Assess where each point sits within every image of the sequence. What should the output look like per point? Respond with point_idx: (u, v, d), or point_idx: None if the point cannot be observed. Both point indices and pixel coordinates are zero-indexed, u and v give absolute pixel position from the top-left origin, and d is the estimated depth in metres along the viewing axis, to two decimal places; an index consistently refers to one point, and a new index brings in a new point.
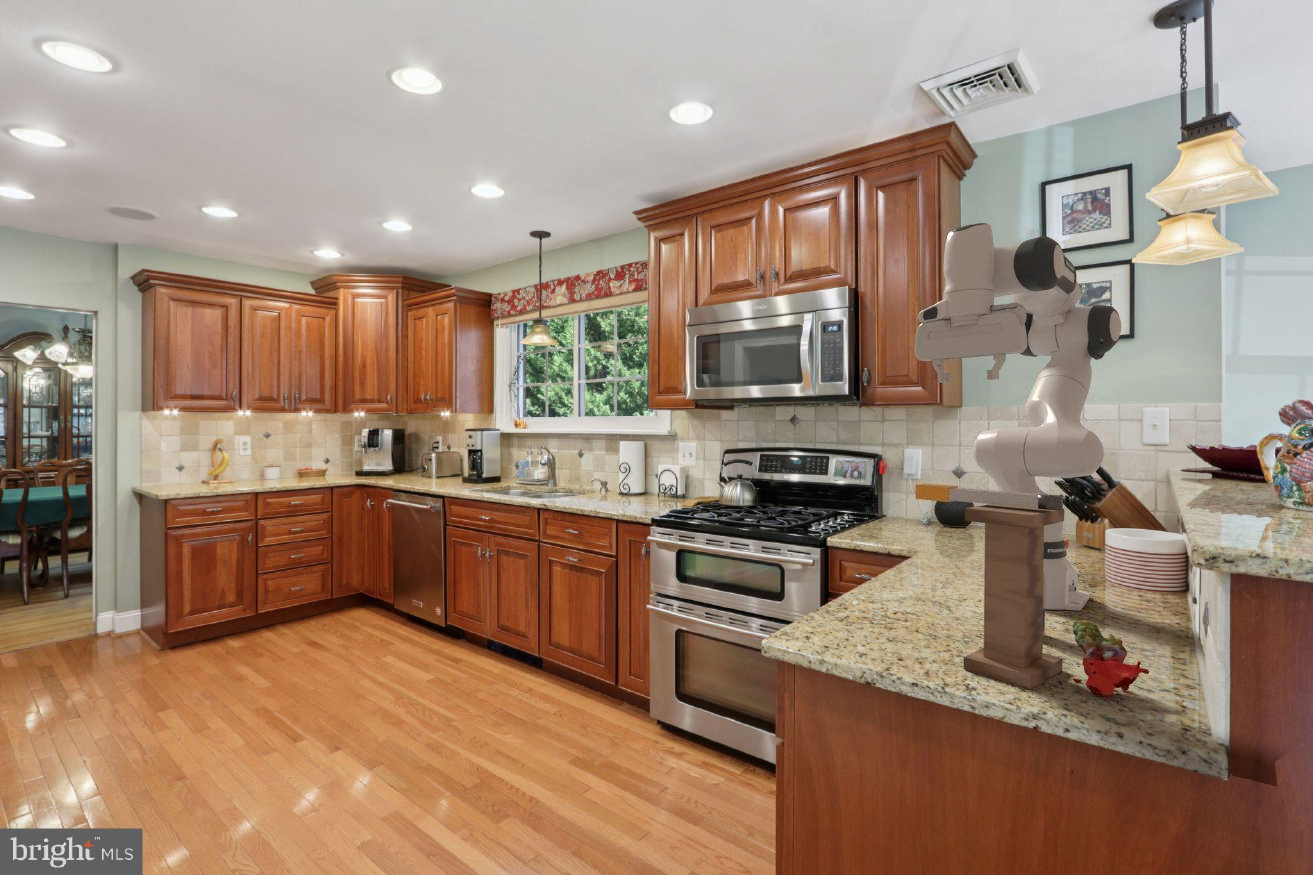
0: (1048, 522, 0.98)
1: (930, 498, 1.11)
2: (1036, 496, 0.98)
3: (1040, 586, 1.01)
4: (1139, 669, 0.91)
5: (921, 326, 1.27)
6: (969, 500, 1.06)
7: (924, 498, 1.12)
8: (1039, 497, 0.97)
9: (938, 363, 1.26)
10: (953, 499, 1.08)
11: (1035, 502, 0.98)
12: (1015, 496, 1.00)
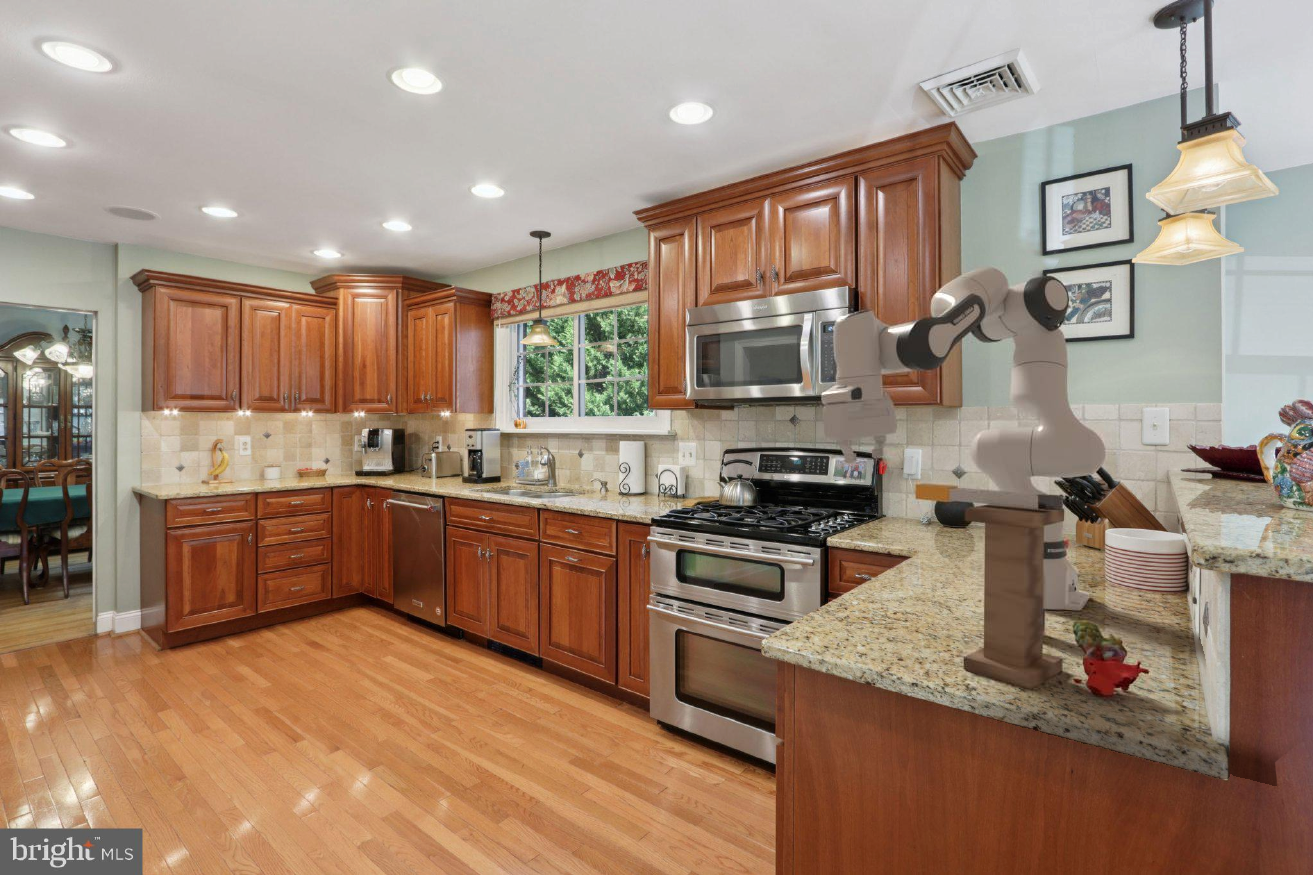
0: (1048, 522, 0.98)
1: (930, 498, 1.11)
2: (1036, 496, 0.98)
3: (1040, 586, 1.01)
4: (1139, 669, 0.91)
5: (847, 405, 1.21)
6: (969, 500, 1.06)
7: (924, 498, 1.12)
8: (1039, 497, 0.97)
9: (851, 444, 1.24)
10: (953, 499, 1.08)
11: (1035, 502, 0.98)
12: (1015, 496, 1.00)
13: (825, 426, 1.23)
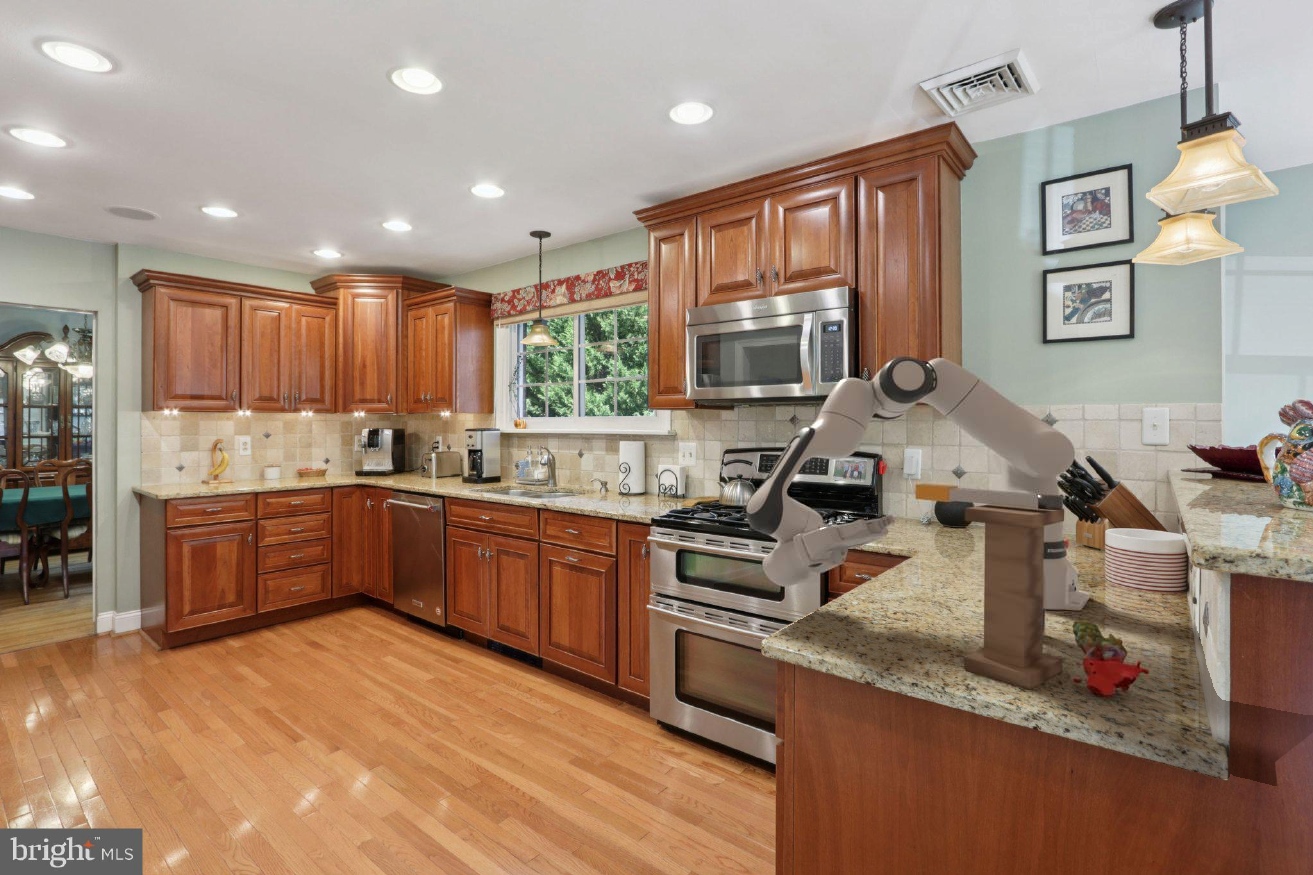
0: (1048, 522, 0.98)
1: (930, 498, 1.11)
2: (1036, 496, 0.98)
3: (1040, 586, 1.01)
4: (1139, 669, 0.91)
5: None
6: (969, 500, 1.06)
7: (924, 498, 1.12)
8: (1039, 497, 0.97)
9: None
10: (953, 499, 1.08)
11: (1035, 502, 0.98)
12: (1015, 496, 1.00)
13: (819, 548, 1.19)
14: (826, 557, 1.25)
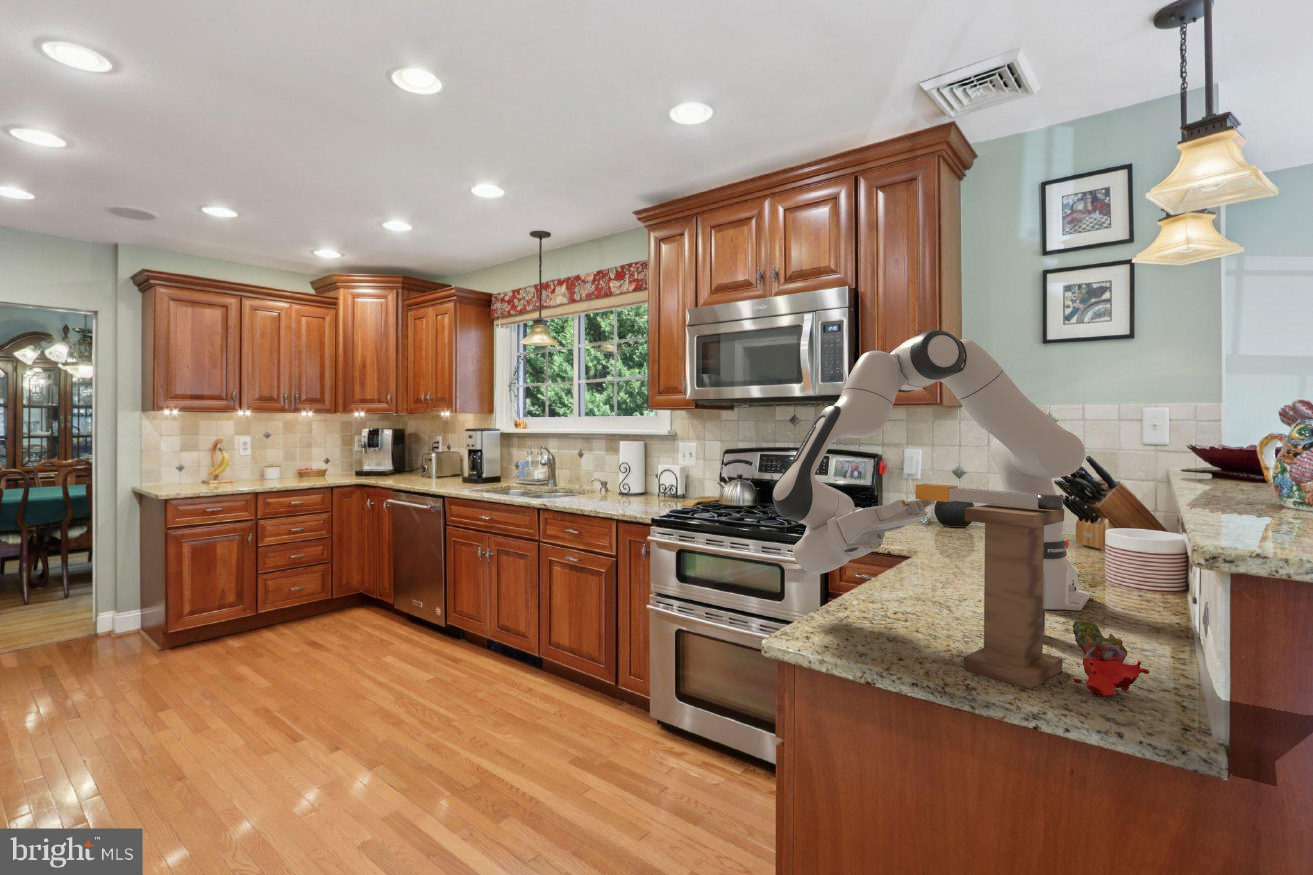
0: (1048, 522, 0.98)
1: (930, 498, 1.11)
2: (1036, 496, 0.98)
3: (1040, 586, 1.01)
4: (1139, 669, 0.91)
5: None
6: (969, 500, 1.06)
7: (924, 498, 1.12)
8: (1039, 497, 0.97)
9: None
10: (953, 499, 1.08)
11: (1035, 502, 0.98)
12: (1015, 496, 1.00)
13: (857, 531, 1.13)
14: (863, 541, 1.18)
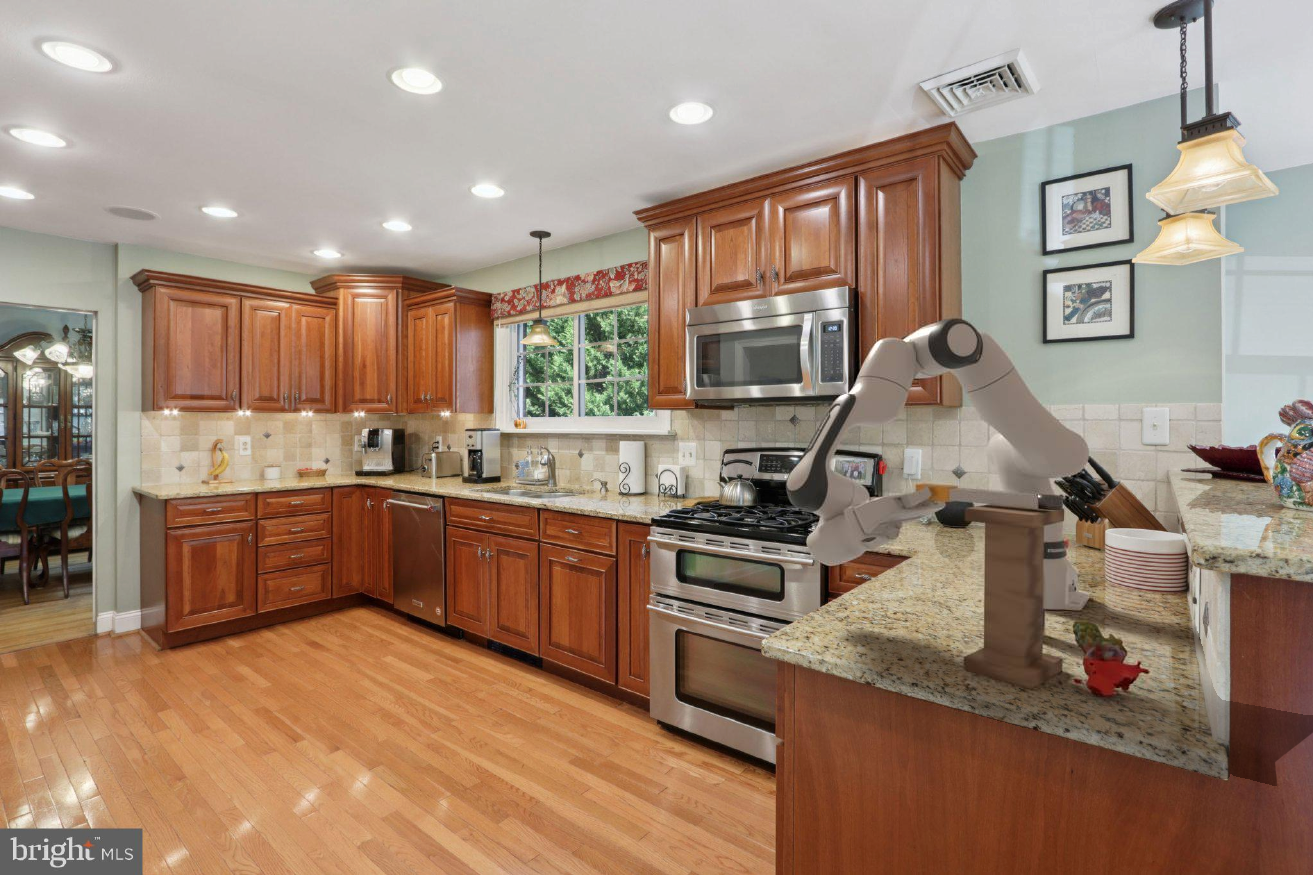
0: (1048, 522, 0.98)
1: (930, 498, 1.11)
2: (1036, 496, 0.98)
3: (1040, 586, 1.01)
4: (1139, 669, 0.91)
5: None
6: (969, 500, 1.06)
7: None
8: (1039, 497, 0.97)
9: None
10: (953, 499, 1.08)
11: (1035, 502, 0.98)
12: (1015, 496, 1.00)
13: (875, 520, 1.10)
14: (880, 531, 1.15)
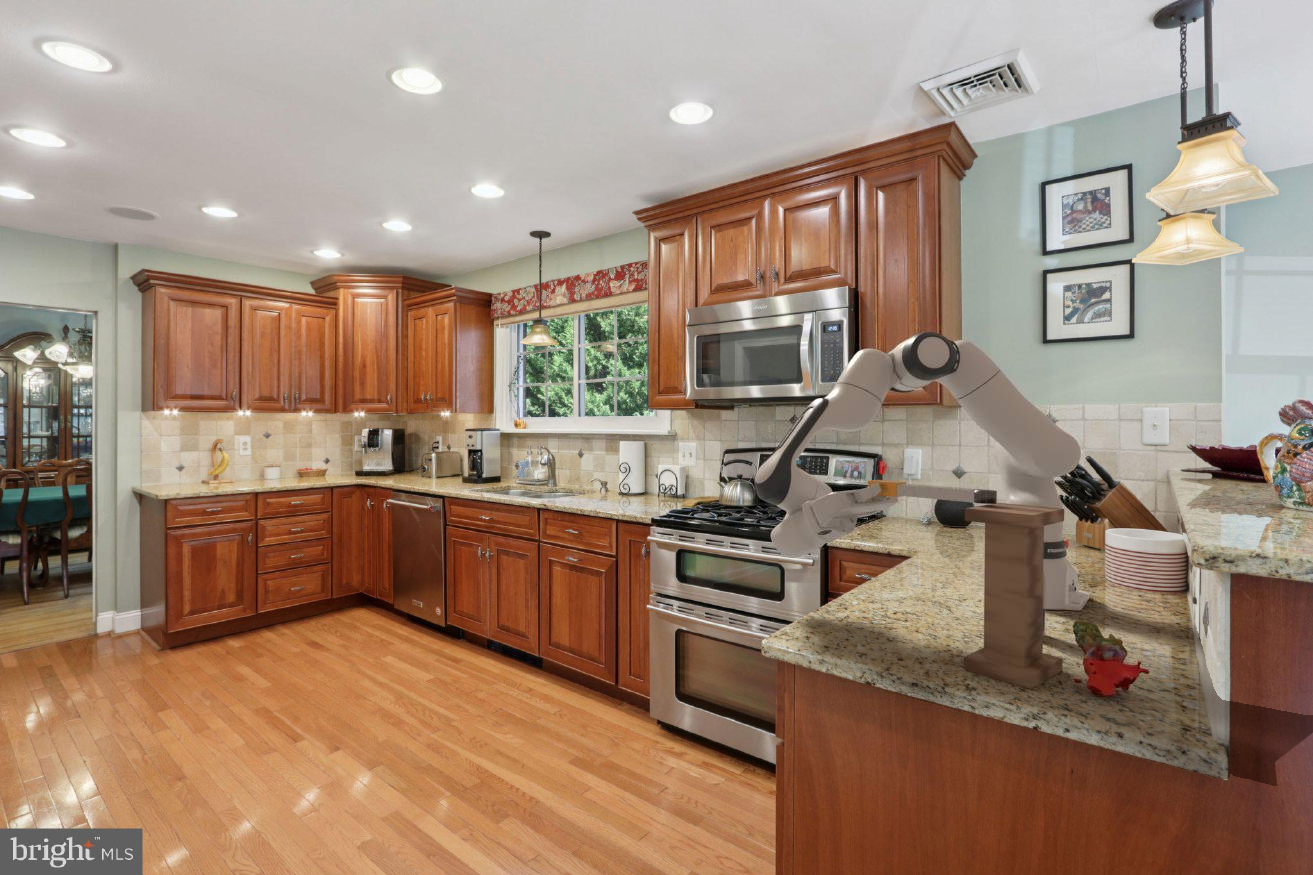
0: (1048, 522, 0.98)
1: (880, 493, 1.19)
2: (972, 491, 1.05)
3: (1040, 586, 1.01)
4: (1139, 669, 0.91)
5: None
6: (914, 495, 1.13)
7: None
8: (975, 492, 1.05)
9: None
10: (900, 494, 1.15)
11: (972, 496, 1.05)
12: (954, 491, 1.08)
13: (829, 514, 1.18)
14: (835, 524, 1.23)
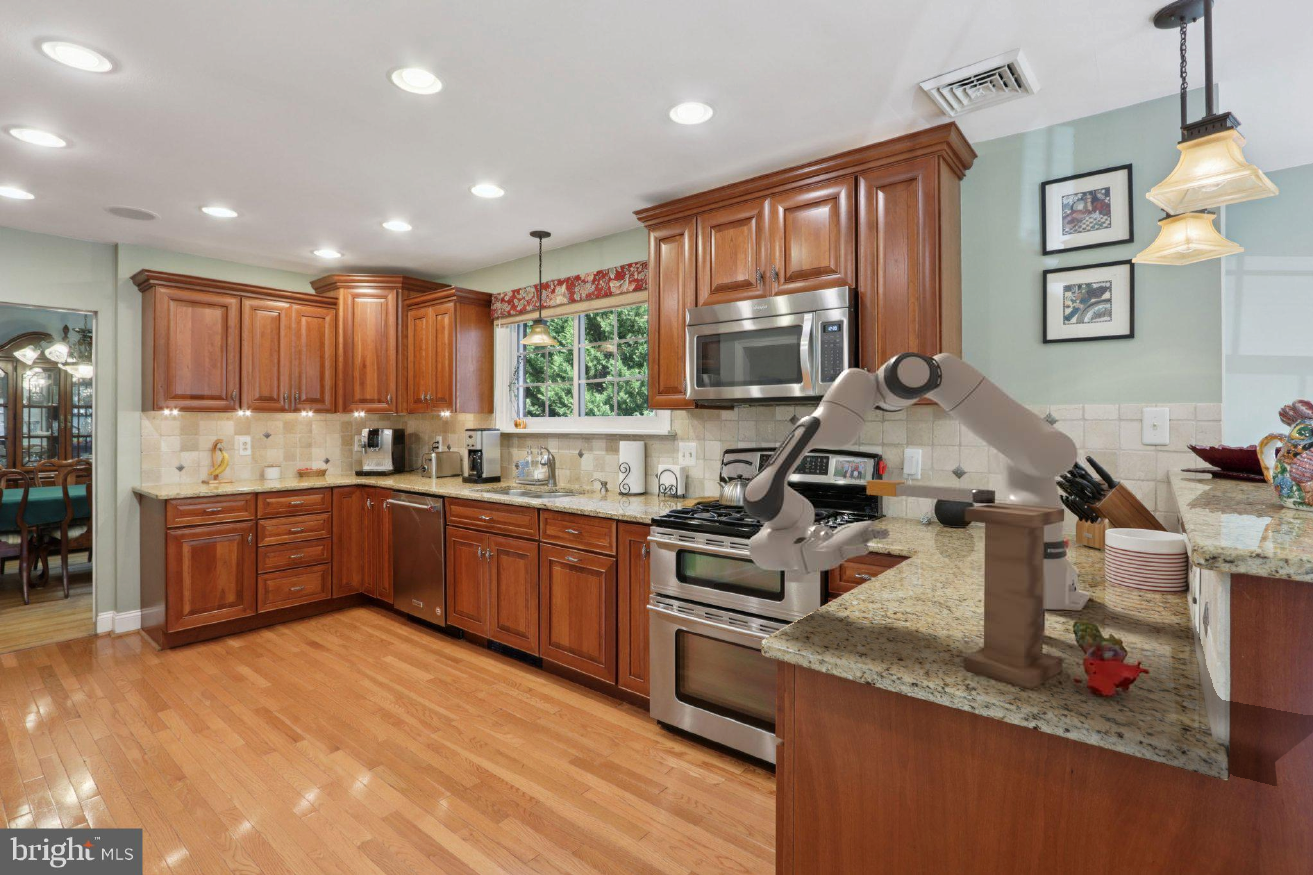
0: (1048, 522, 0.98)
1: (879, 493, 1.19)
2: (971, 491, 1.05)
3: (1040, 586, 1.01)
4: (1139, 669, 0.91)
5: (803, 546, 1.26)
6: (913, 495, 1.14)
7: (874, 493, 1.20)
8: (973, 492, 1.05)
9: None
10: (899, 494, 1.16)
11: (970, 496, 1.06)
12: (953, 491, 1.08)
13: (821, 568, 1.22)
14: None
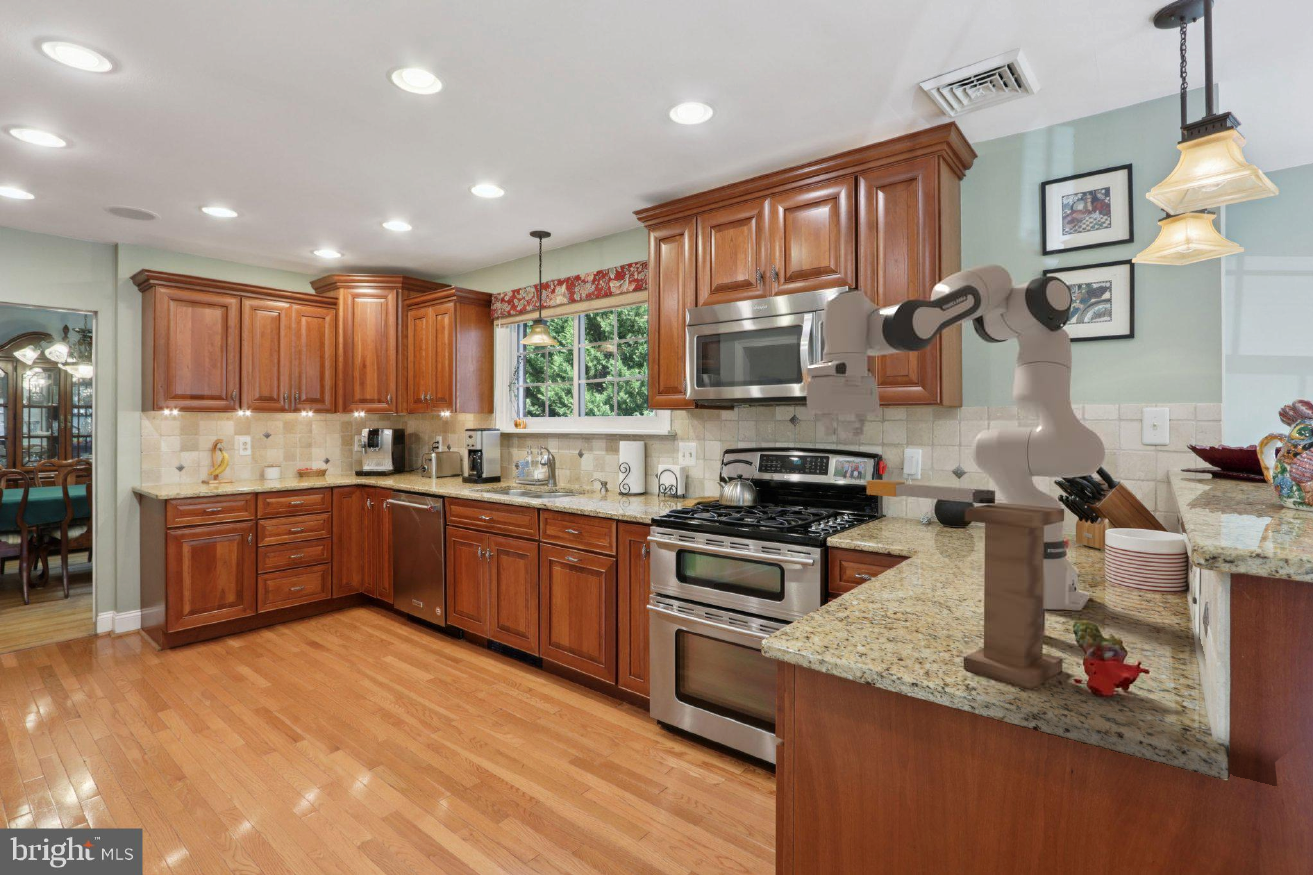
0: (1048, 522, 0.98)
1: (879, 493, 1.19)
2: (971, 491, 1.05)
3: (1040, 586, 1.01)
4: (1139, 669, 0.91)
5: (831, 378, 1.24)
6: (913, 495, 1.14)
7: (874, 493, 1.20)
8: (973, 492, 1.05)
9: (832, 417, 1.27)
10: (899, 494, 1.16)
11: (970, 496, 1.06)
12: (953, 491, 1.08)
13: (808, 398, 1.26)
14: None
